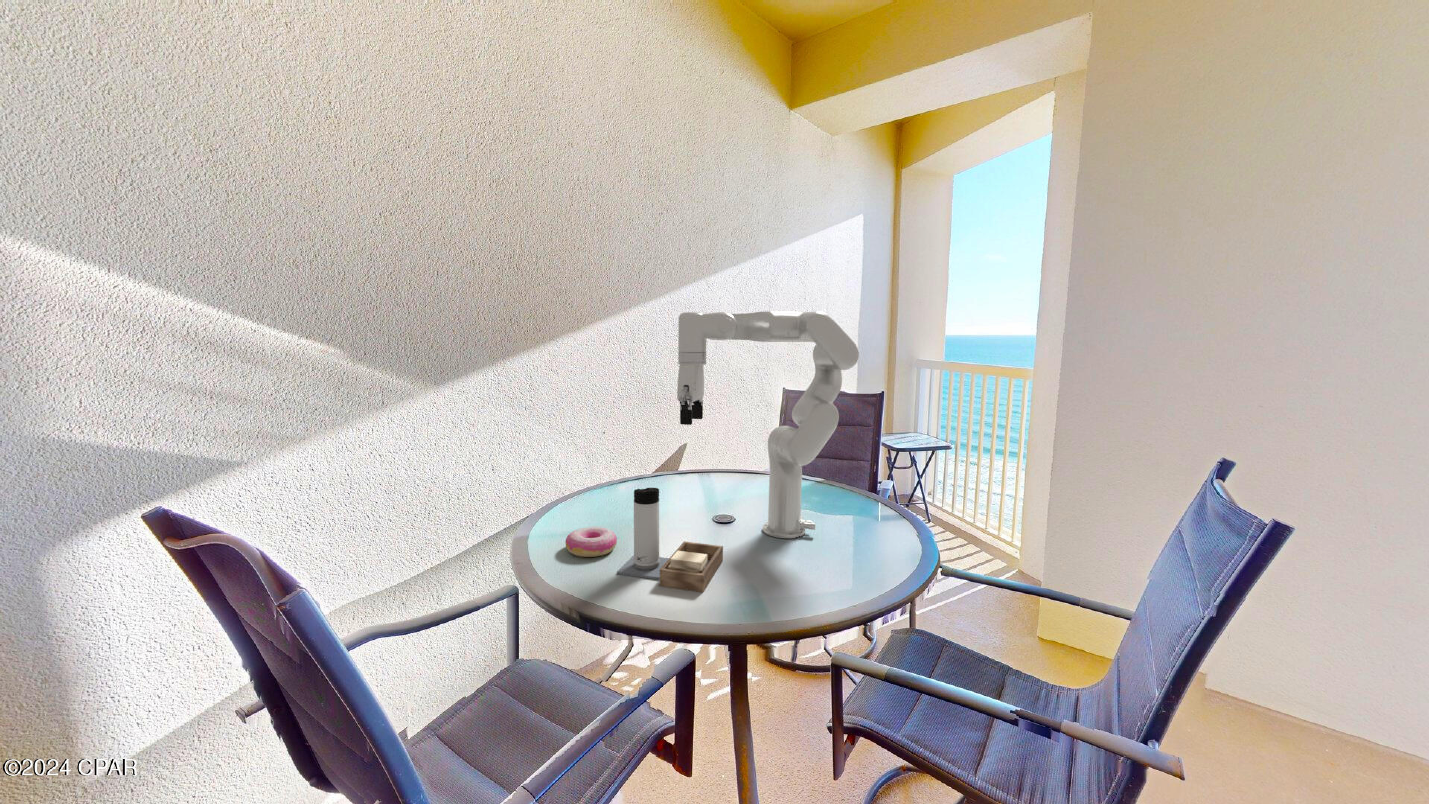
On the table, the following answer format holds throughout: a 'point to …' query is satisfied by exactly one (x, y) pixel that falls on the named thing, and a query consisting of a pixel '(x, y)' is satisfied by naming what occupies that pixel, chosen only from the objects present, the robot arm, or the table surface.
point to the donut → (591, 541)
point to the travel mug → (646, 528)
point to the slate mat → (633, 571)
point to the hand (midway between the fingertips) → (691, 421)
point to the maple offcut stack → (688, 562)
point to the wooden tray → (689, 578)
